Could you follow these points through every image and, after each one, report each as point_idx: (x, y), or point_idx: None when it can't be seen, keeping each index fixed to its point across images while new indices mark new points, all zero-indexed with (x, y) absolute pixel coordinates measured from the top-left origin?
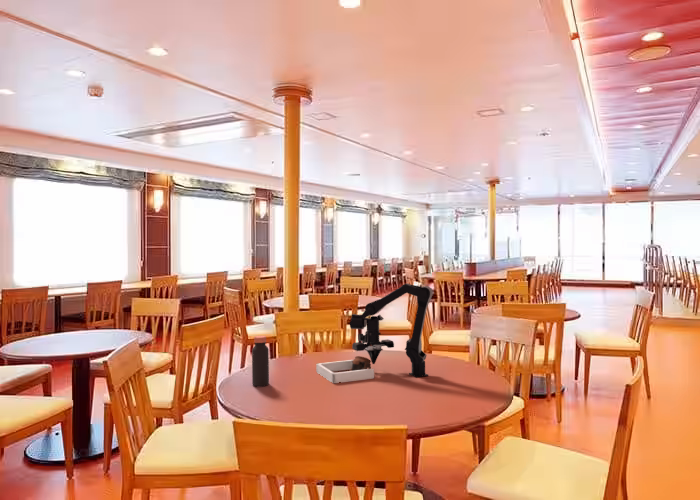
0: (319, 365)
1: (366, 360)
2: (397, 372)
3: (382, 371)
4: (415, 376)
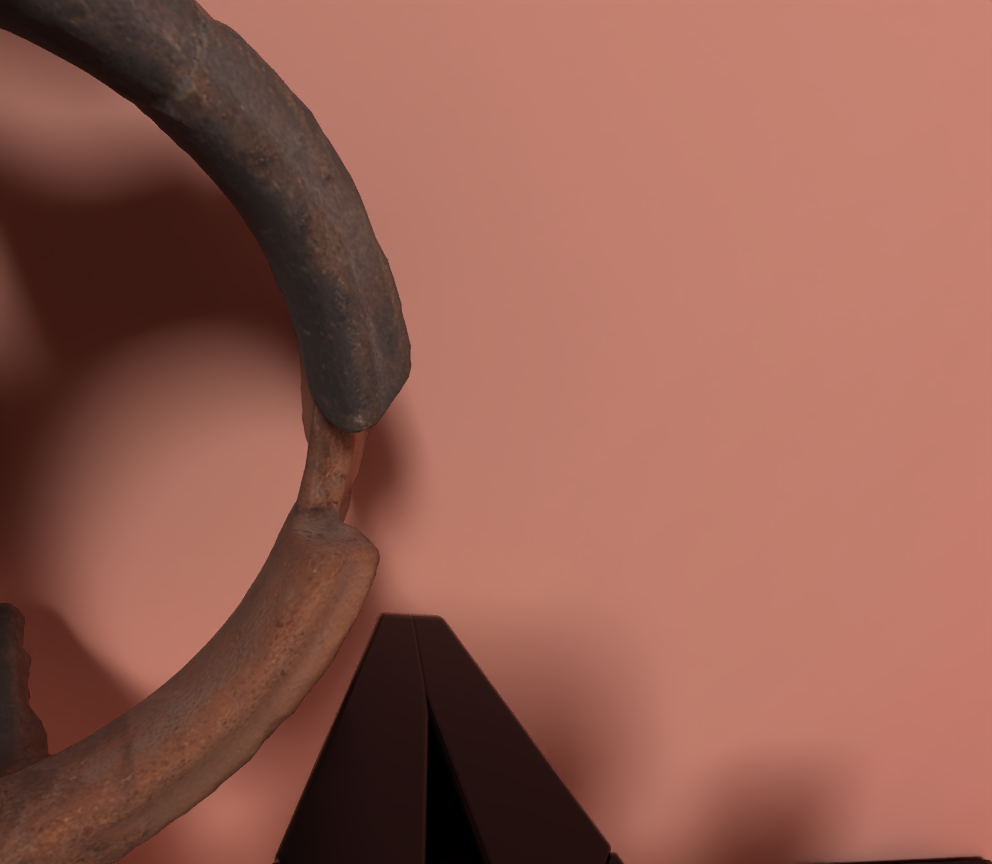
0: None
1: None
2: (776, 721)
3: (609, 541)
4: None
